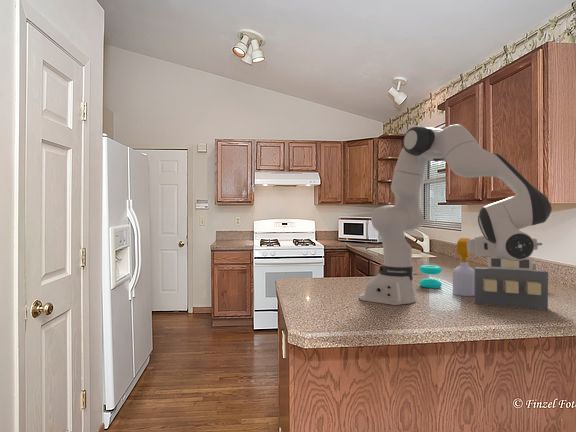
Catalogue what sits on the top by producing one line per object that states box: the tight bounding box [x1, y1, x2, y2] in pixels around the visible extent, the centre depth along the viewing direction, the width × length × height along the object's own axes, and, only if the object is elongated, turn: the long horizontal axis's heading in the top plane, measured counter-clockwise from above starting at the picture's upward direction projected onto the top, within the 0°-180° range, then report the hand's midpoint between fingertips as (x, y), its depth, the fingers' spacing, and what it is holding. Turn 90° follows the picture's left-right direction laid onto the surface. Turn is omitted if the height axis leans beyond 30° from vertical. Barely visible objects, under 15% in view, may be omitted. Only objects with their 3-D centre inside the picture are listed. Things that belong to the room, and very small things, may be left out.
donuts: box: [419, 264, 443, 289], centre depth 177 cm, size 10×10×10 cm
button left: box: [483, 278, 497, 292], centre depth 142 cm, size 4×7×4 cm, turn 157°
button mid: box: [503, 279, 519, 294], centre depth 139 cm, size 4×7×4 cm, turn 157°
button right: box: [525, 281, 541, 295], centre depth 136 cm, size 4×7×4 cm, turn 158°
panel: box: [473, 256, 549, 310], centre depth 141 cm, size 24×3×19 cm, turn 68°
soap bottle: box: [452, 237, 475, 297], centre depth 160 cm, size 9×9×25 cm
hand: (496, 245), depth 128 cm, fingers open, 8 cm apart
